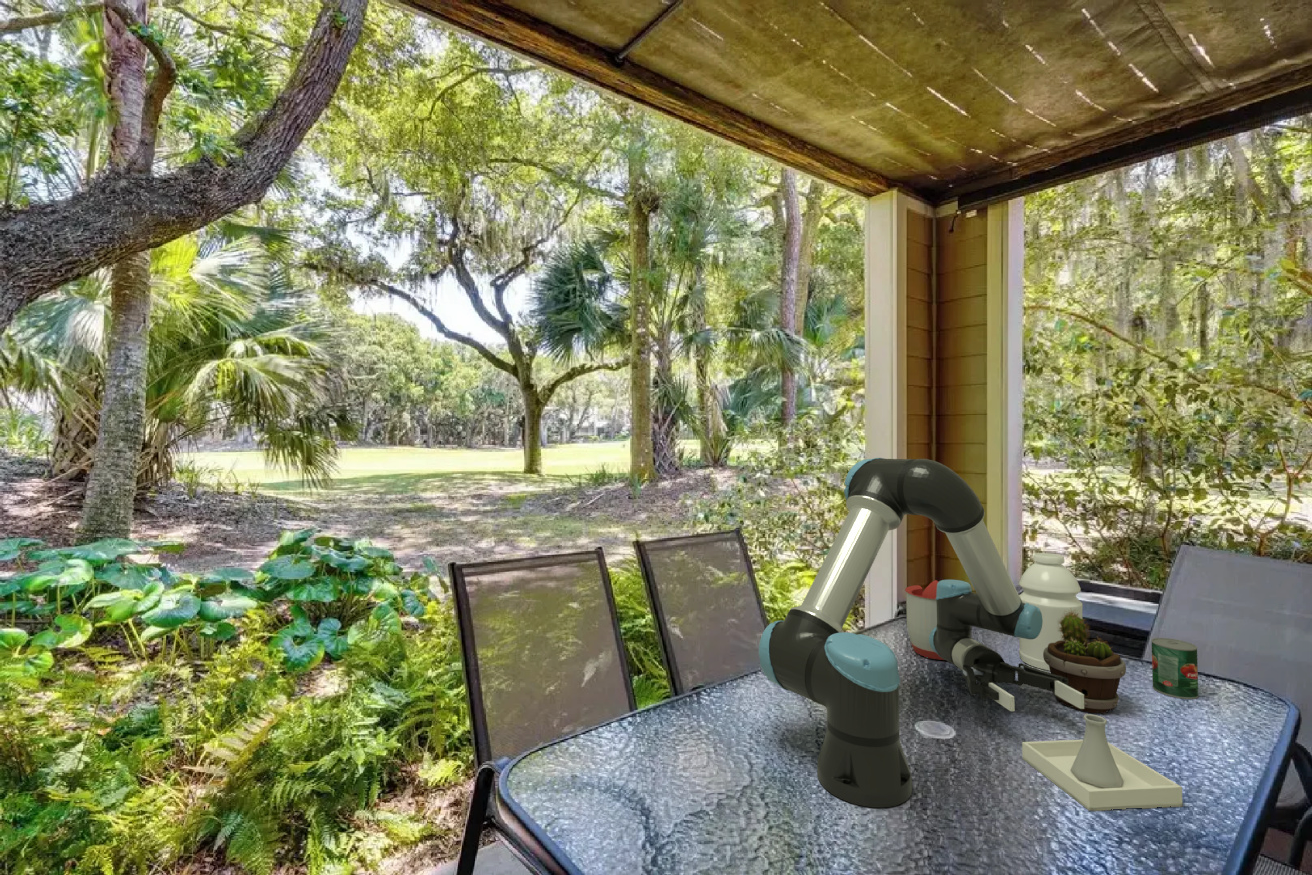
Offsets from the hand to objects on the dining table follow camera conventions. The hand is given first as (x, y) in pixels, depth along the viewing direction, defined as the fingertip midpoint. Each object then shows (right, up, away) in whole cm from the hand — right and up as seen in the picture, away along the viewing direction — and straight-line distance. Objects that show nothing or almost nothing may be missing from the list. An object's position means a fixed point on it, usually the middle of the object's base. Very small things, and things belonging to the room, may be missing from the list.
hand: (1047, 702), depth 109 cm
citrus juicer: (+3, -9, +50) cm, 51 cm away
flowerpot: (+20, -9, +18) cm, 29 cm away
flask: (+1, -8, -11) cm, 14 cm away
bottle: (+29, -9, +42) cm, 52 cm away
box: (+1, -8, -11) cm, 14 cm away
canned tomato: (+45, -8, +24) cm, 52 cm away
